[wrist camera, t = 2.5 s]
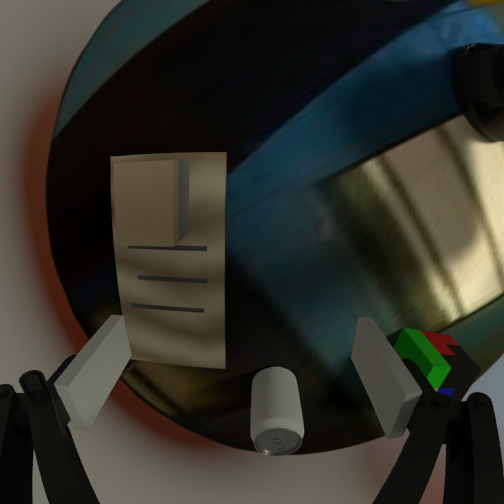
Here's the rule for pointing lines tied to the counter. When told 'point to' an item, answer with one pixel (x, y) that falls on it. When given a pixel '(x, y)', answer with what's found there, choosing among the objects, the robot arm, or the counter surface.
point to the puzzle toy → (438, 361)
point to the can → (276, 412)
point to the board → (179, 275)
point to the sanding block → (151, 202)
